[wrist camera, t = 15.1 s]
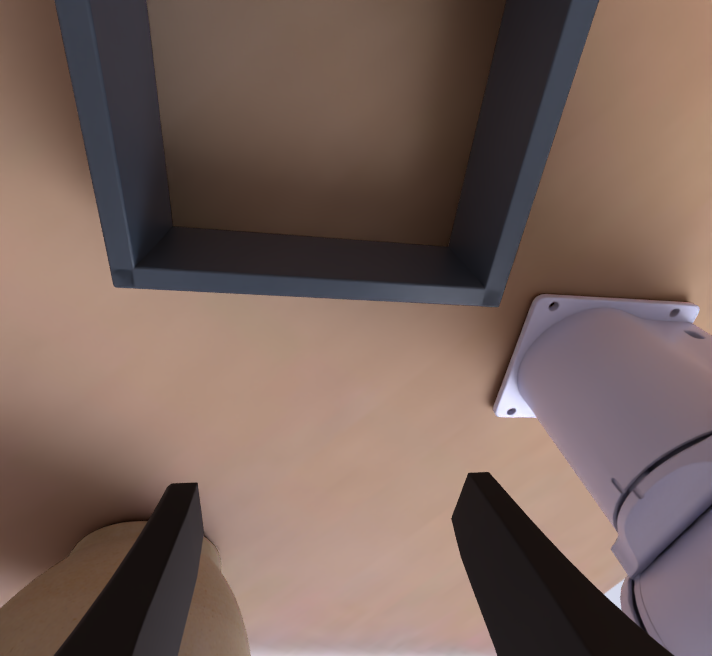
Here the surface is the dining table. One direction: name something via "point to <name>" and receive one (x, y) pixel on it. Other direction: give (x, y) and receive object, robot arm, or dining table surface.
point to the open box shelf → (302, 253)
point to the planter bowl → (89, 577)
